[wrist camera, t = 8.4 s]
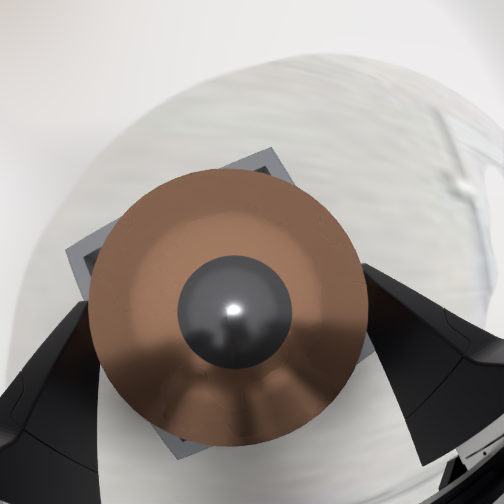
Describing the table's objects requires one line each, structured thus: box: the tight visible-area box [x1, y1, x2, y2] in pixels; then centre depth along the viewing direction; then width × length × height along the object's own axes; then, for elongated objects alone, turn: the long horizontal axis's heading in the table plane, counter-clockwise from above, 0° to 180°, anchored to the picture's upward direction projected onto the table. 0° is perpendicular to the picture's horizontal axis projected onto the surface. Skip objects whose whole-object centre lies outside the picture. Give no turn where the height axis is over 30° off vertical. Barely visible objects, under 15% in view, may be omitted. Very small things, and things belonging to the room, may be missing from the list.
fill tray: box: [65, 147, 375, 460], centre depth 16 cm, size 14×14×3 cm
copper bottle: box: [88, 168, 368, 446], centre depth 10 cm, size 6×6×14 cm
